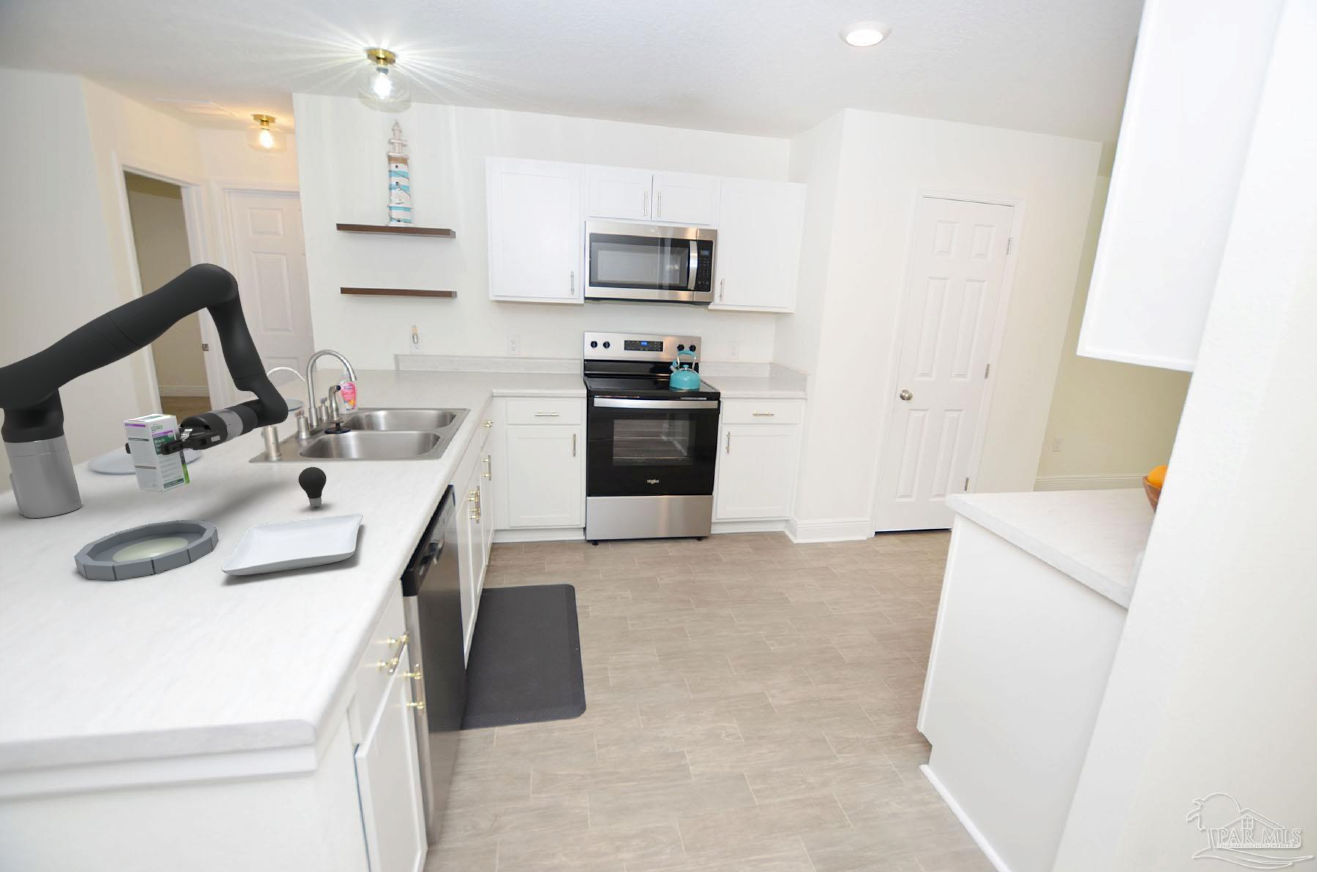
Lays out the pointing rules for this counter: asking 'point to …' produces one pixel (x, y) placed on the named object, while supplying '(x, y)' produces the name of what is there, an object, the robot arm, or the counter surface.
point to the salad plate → (294, 544)
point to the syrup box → (155, 452)
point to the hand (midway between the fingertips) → (145, 449)
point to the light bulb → (313, 484)
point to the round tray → (146, 549)
